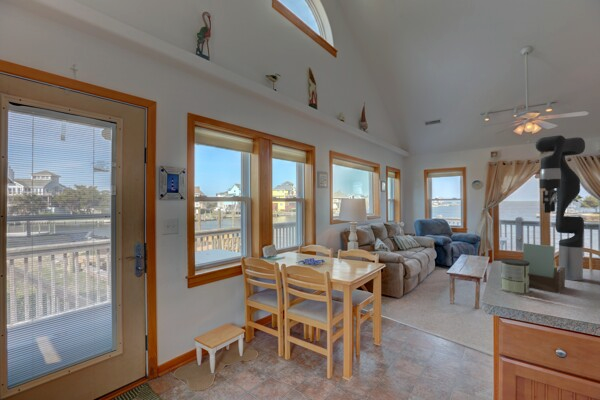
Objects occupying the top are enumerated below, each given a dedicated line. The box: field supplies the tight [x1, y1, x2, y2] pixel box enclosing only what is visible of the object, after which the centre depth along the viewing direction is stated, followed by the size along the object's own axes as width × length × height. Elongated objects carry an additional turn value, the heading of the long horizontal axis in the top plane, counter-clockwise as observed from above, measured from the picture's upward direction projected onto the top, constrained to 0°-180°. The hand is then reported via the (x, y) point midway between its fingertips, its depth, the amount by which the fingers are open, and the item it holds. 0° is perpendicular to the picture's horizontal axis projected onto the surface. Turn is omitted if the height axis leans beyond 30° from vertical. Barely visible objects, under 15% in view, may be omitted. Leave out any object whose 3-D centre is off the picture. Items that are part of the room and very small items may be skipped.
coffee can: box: [500, 258, 530, 296], centre depth 127 cm, size 10×10×14 cm
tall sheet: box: [522, 242, 555, 278], centre depth 129 cm, size 1×11×20 cm, turn 38°
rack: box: [529, 267, 566, 294], centre depth 132 cm, size 14×15×10 cm
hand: (549, 212), depth 133 cm, fingers open, 8 cm apart
